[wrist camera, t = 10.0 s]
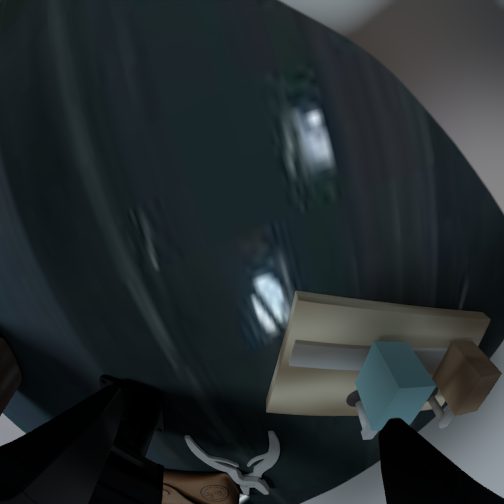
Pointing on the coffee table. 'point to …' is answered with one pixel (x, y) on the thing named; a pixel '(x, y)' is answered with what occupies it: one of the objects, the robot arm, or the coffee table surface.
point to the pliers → (252, 478)
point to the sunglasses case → (198, 488)
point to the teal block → (391, 386)
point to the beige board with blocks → (358, 346)
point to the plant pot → (8, 374)
